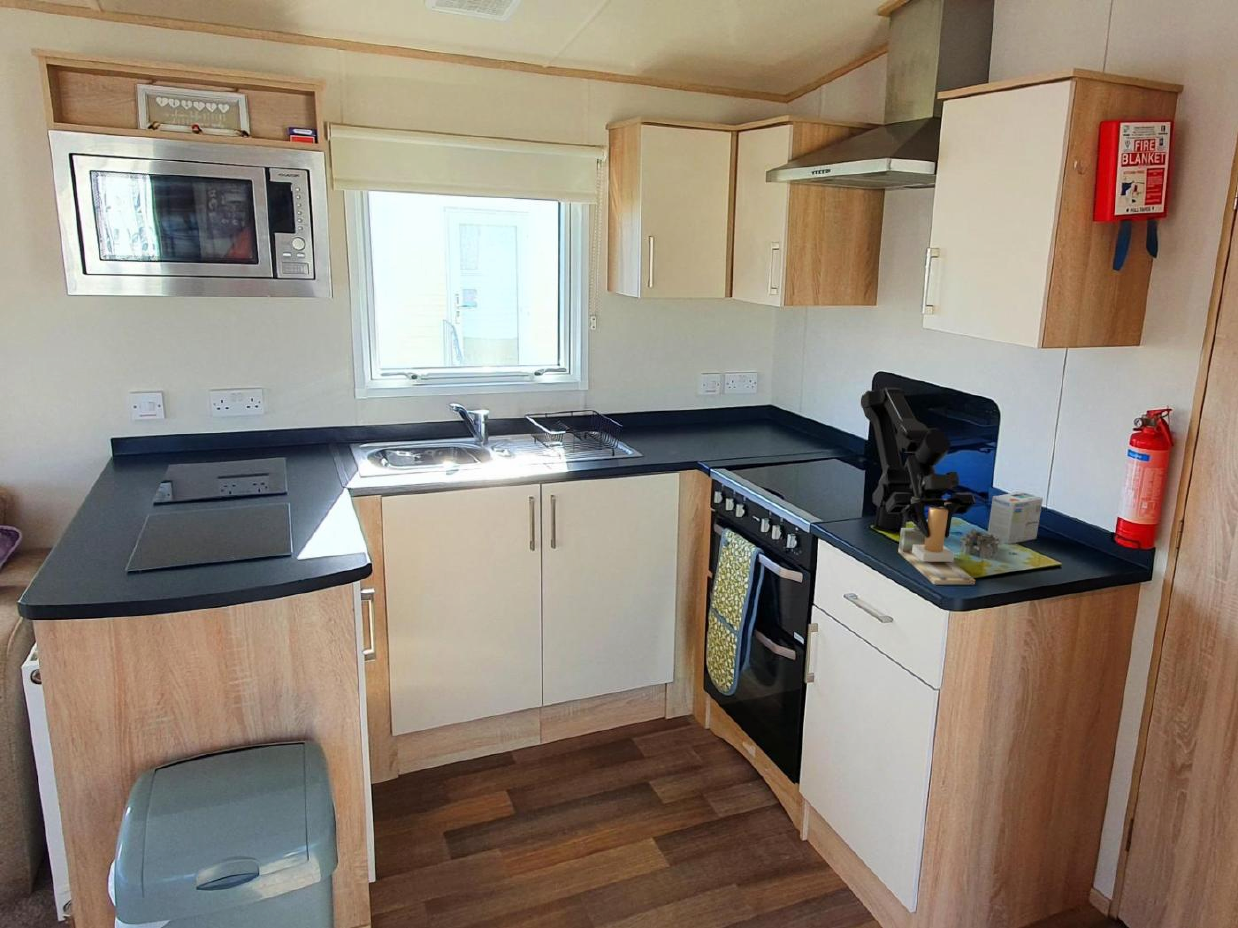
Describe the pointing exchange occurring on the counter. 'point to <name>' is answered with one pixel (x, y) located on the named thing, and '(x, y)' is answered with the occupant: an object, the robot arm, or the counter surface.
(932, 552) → the rubber stamp
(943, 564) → the rail board
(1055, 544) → the counter surface
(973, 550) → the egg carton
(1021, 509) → the light bulb box
